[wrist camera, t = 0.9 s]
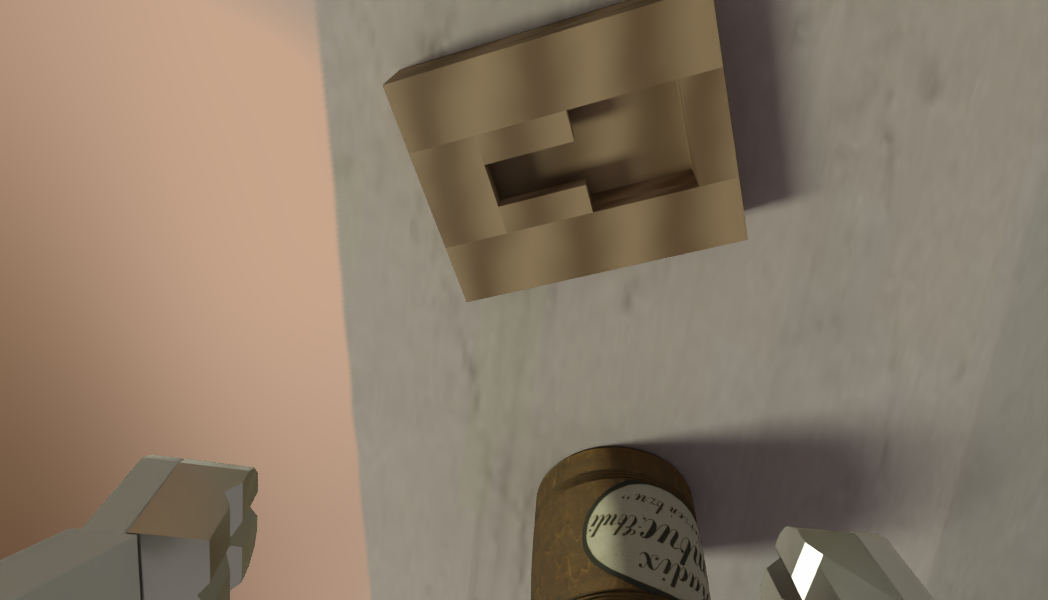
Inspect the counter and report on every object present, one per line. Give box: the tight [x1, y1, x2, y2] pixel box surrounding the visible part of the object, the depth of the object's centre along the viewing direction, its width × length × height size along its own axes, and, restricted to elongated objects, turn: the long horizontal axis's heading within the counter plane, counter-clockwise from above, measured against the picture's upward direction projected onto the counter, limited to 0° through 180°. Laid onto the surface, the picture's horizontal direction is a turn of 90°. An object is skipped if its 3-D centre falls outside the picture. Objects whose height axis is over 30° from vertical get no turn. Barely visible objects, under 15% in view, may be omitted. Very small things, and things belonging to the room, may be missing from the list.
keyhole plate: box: [383, 0, 748, 302], centre depth 45 cm, size 20×16×4 cm
